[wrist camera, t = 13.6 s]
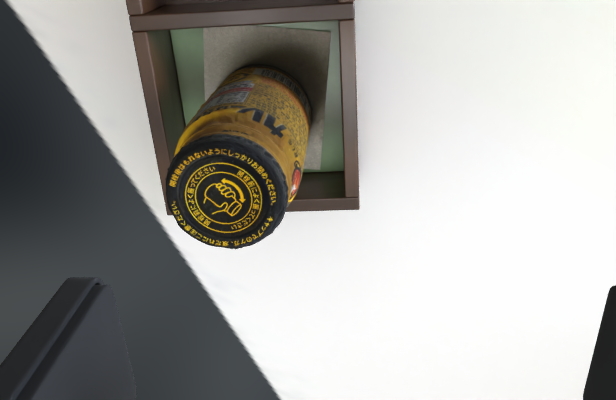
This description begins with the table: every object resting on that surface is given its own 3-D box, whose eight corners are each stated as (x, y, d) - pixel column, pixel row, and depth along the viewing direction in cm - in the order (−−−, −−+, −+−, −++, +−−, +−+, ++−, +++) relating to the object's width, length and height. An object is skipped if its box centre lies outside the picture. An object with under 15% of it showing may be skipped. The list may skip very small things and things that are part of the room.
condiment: (206, 159, 35) (147, 260, 25) (204, 21, 32) (133, 70, 21) (320, 168, 35) (310, 274, 25) (331, 31, 32) (326, 85, 21)
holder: (115, -221, 28) (77, -246, 23) (346, -242, 27) (347, -272, 23) (186, 184, 37) (167, 215, 33) (357, 178, 36) (359, 210, 32)
